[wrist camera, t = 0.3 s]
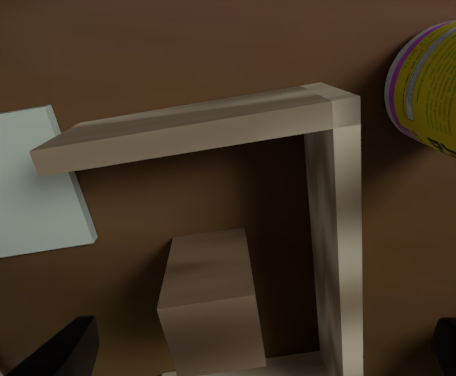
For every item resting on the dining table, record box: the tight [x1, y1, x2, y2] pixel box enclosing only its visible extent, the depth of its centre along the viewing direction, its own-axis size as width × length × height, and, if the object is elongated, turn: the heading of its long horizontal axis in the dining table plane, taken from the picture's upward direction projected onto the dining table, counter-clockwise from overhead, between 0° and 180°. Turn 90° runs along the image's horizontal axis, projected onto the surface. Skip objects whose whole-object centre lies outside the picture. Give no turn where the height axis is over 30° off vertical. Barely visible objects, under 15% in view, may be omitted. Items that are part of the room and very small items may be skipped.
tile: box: [0, 105, 98, 258], centre depth 21 cm, size 9×9×1 cm
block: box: [157, 227, 266, 376], centre depth 21 cm, size 5×5×7 cm
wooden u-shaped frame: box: [29, 82, 363, 376], centre depth 22 cm, size 22×14×6 cm, turn 9°
